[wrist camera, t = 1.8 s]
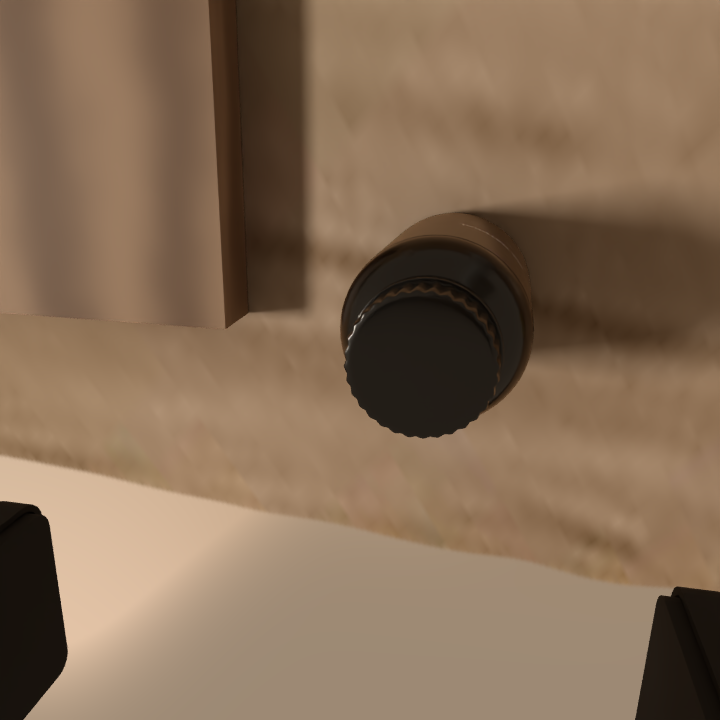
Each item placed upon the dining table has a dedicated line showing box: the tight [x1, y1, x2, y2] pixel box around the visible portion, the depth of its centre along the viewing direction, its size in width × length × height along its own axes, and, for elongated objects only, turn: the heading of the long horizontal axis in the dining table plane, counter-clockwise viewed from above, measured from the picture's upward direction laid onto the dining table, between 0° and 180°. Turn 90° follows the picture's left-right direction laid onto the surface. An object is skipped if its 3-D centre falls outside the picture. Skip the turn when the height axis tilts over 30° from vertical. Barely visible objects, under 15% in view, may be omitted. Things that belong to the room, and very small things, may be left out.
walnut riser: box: [0, 0, 248, 329], centre depth 32 cm, size 16×16×3 cm
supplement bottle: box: [340, 213, 534, 439], centre depth 26 cm, size 7×7×12 cm
